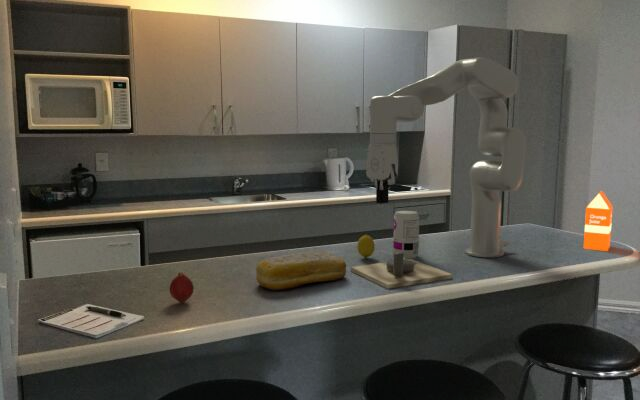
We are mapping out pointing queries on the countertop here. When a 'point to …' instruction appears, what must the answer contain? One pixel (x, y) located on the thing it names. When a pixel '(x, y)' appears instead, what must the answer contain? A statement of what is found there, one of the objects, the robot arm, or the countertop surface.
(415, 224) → the supplement can
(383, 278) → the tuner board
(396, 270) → the dark grey handled piece
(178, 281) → the onion
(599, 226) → the orange juice
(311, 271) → the bread
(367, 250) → the lemon
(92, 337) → the countertop surface
